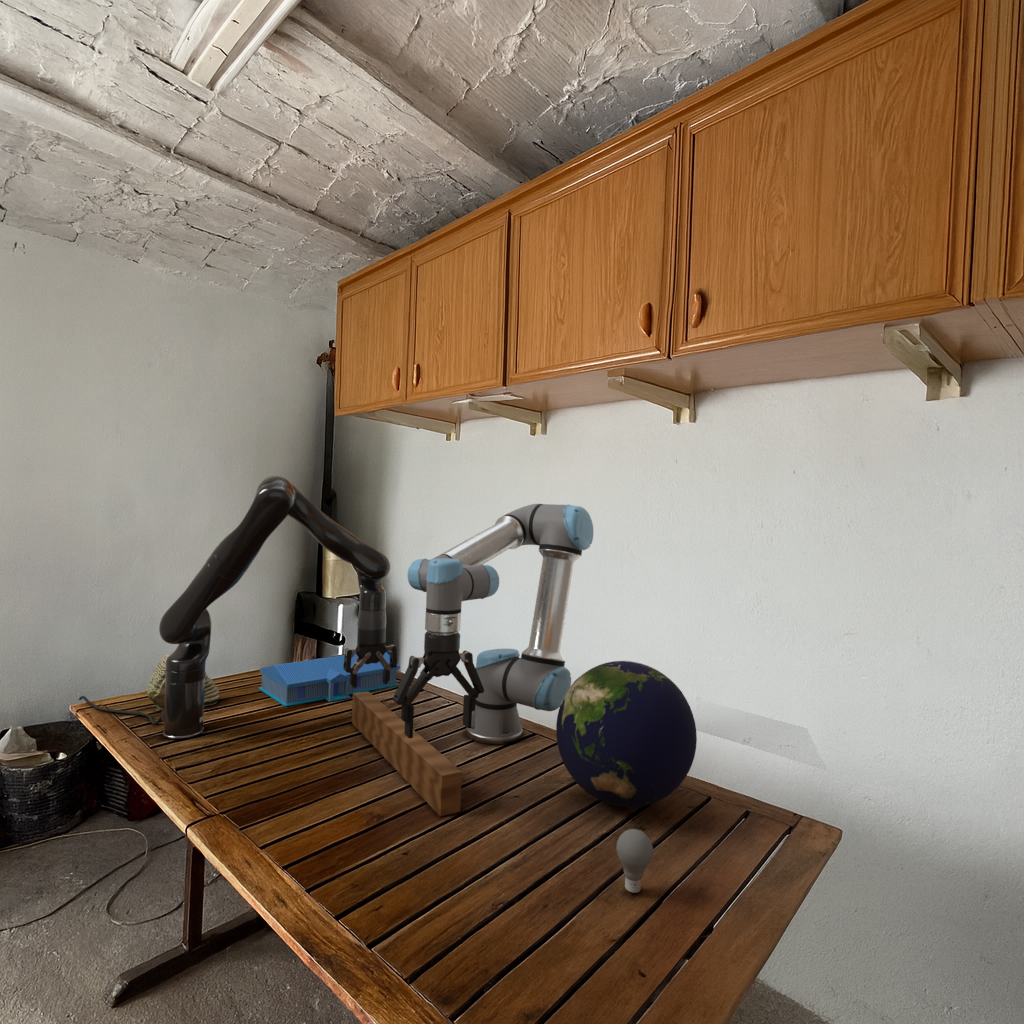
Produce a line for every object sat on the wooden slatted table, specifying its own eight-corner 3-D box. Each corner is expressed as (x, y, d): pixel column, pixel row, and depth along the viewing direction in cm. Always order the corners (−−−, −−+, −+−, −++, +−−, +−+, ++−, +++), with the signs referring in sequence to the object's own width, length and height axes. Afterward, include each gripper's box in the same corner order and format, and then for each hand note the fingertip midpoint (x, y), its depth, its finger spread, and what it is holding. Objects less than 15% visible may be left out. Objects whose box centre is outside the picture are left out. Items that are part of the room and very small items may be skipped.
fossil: (144, 707, 182) (145, 655, 182) (212, 696, 194) (213, 647, 194) (151, 716, 175) (153, 662, 175) (221, 703, 188) (223, 653, 188)
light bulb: (610, 879, 108) (613, 822, 108) (644, 879, 109) (647, 822, 109) (619, 902, 102) (622, 840, 102) (655, 901, 103) (658, 840, 103)
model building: (289, 709, 186) (291, 675, 185) (258, 688, 204) (259, 657, 204) (403, 687, 212) (405, 657, 212) (366, 670, 230) (368, 643, 230)
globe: (533, 814, 130) (540, 669, 129) (575, 761, 157) (580, 641, 157) (683, 851, 118) (691, 691, 118) (699, 786, 146) (706, 657, 146)
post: (351, 722, 178) (352, 693, 178) (367, 720, 180) (368, 691, 180) (440, 816, 128) (442, 775, 127) (460, 811, 130) (462, 771, 130)
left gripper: (350, 630, 165) (348, 692, 165) (401, 626, 172) (399, 685, 173) (341, 625, 171) (339, 684, 172) (392, 621, 179) (390, 678, 179)
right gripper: (393, 640, 125) (388, 746, 125) (502, 631, 138) (497, 727, 138) (380, 632, 131) (375, 734, 131) (485, 624, 144) (481, 717, 144)
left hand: (369, 685), depth 172 cm, fingers open, 8 cm apart
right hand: (438, 731), depth 135 cm, fingers open, 13 cm apart
